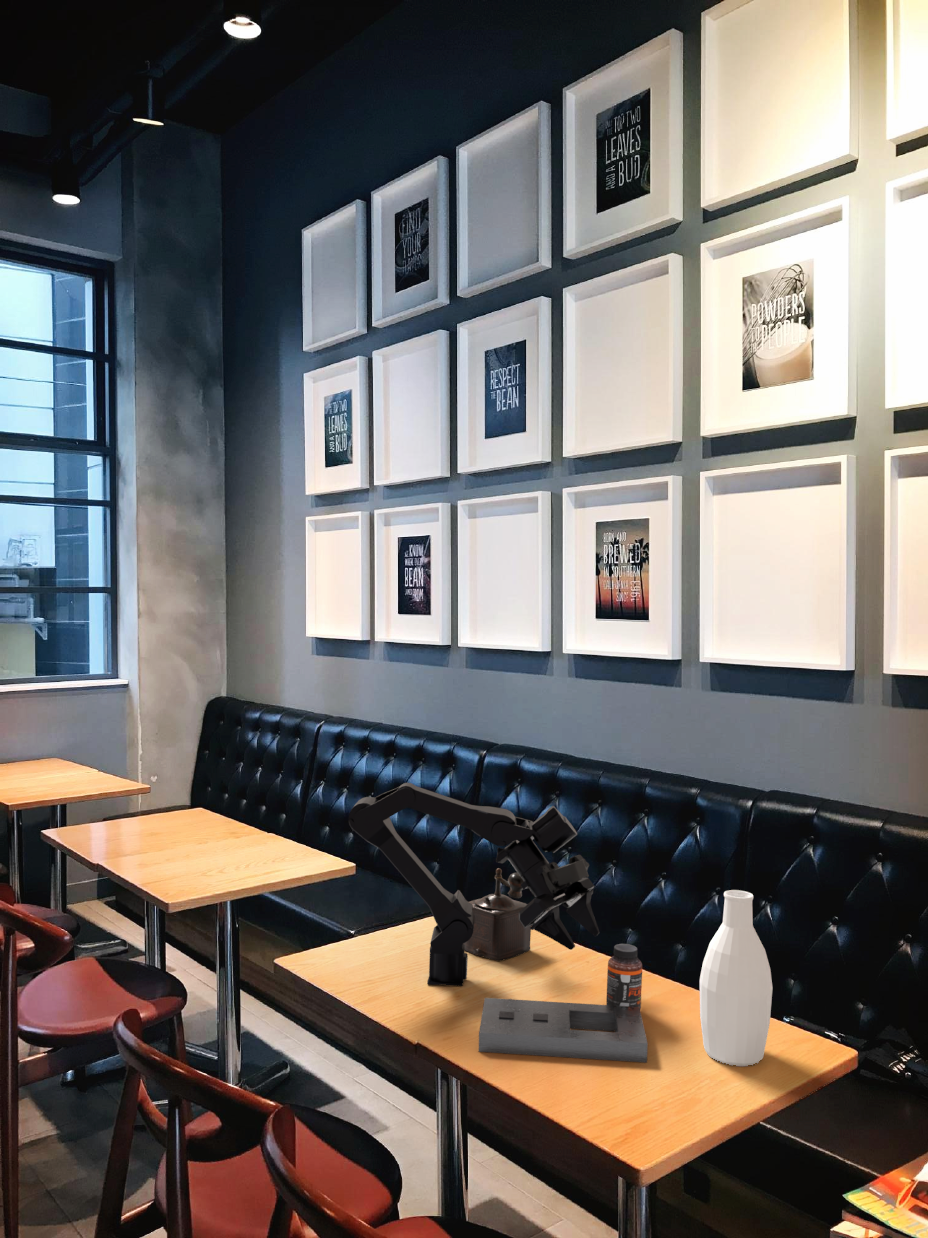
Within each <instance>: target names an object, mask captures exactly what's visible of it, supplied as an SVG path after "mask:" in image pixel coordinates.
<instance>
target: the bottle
mask: <svg viewBox="0 0 928 1238" xmlns="http://www.w3.org/2000/svg"><path fill="white" fill-rule="evenodd" d="M723 897H724V904H723V913H722V923H721V924H720V926H719V927H718V930H717V931H716V932H715V934H714V936H713V937H712V939H711V940H710V942H709V944H708V947H707V950H706V953H705V955H704V958H703V961H702V967H701V971H700V976H699V1017H700V1019H699V1020H700V1024H701V1025H700V1026H701V1033H702V1043H703V1047H704V1051H705V1053H706V1054H707V1055H708V1056H709V1058H711V1059H712V1058H713V1059H712V1060H714V1059H715V1060H714V1061H716V1060H717V1061H716V1062H718V1061H720V1062H719V1063H721V1062H722V1063H721V1064H724V1063H726V1064H725V1065H727V1064H729V1065H728V1066H733V1065H736V1066H735V1067H749V1066H748V1065H752V1066H754V1065H753V1064H755V1063H757V1064H759V1063H760V1062H761V1061H760V1060H763V1058H764V1056H765V1055H764V1054H765V1049H766V1045H767V1041H768V1040H767V1038H768V1033H769V1029H770V1023H771V1012H772V1011H771V1010H772V999H773V998H772V997H773V982H772V972H771V971H772V970H771V967H770V963H769V959H768V955H767V952H766V949H765V947H764V945H763V944H762V943H763V942H762V941H761V940H760V937H759V935H758V933H757V932H756V929H755V928H754V925H753V923H754V922H753V919H754V918H753V917H754V916H753V900H754V895H753V893H751V892H749V891H745V890H741V889H740V890H739V889H731V890H729V889H728V890H725V891H724V892H723ZM759 1061H760V1062H759ZM755 1065H756V1064H755Z"/></svg>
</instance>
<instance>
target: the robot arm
mask: <svg viewBox="0 0 928 1238" xmlns="http://www.w3.org/2000/svg"><path fill="white" fill-rule="evenodd" d="M407 808H408V809H411V810H415V811H417V812H420V813H423V814H425V815H429V816H432V817H435V818H438V819H440V820H444V821H446V822H450V823H453V824H455V825H457V826H462V827H463V828H464V827H465V828H467V830H470V831H471V832H473V833H474V834H476V835H477V836H479V837H480V838H482V839H484V840H486V841H488V842H489V843H491V844H493V845H495V846H498V847H497V849H496V851H497V854H496V858H495V862H496V863H498V864H504V863H506V861H509V862H510V864H511V865H512V867H513V869H514V870H515V871H516V873H518V874H519V875H520V877H521V878H522V880H523V881H524V882H523V883H522V884H521V886H522V888H523V889H522V890H526V889H529V891H530V892H531V894H532V895H533V897H534V898H533V899H532V900H531V901H529V902H528V903H526V904H527V905H526V906H525V907H524V908H523V909H522V910H521V911H520V912H519V921H520V922H521V923H522V925H523V926H524V928H527V927H529V926H531V927H530V929H531V931H533V930H534V931H536V932H538V933H540V934H542V935H543V936H546V937H547V938H550V939H551V940H553V941H555V942H556V943H558V944H560V945H562V947H565V948H566V949H568V950H573V949H574V948H575V947H576V944H575V943H574V941H573V939H572V937H571V935H570V933H569V931H568V930H567V928H566V927H565V925H564V924H563V922H562V920H561V918H560V906H562V907H564V908H566V910H565V913H567V915H569V916H570V917H571V918H572V919H574V920H575V921H576V922H577V923H578V924H579V925H581V926H582V927H583V928H584V929H585V930H587V932H589V933H590V934H591V935H592V936H594V937H597V936H598V935H599V934H600V930H599V926H598V923H597V920H596V918H595V916H594V911H593V909H592V906H591V901H592V900H591V899H592V895H593V894H594V888H595V885H594V884H593V882H592V880H590V875H589V873H588V870H589V867H590V863H589V862H587V860H586V858H584V857H583V856H582V855H581V854H578V855H573V856H572V857H569V859H568V863H567V864H565V865H562V866H559V865H558V864H557V862H555V861H552V862H549V861H548V860H547V858H546V857H545V855H544V854H543V853H542V851H544V853H546V852H548V853H553V854H554V853H556V852H558V850H560V848H563V846H565V845H566V844H567V843H569V842H570V841H571V840H572V839H574V838H575V837H576V836H578V832H577V830H576V829H575V828H574V826H573V825H572V823H571V822H570V821H569V820H568V818H567V816H564V815H563V813H561V812H560V811H559V810H558V809H557V808H556V807H555V805H552V806H550V807H549V808H548V809H547V810H546V811H545V812H544V813H543V814H542V815H541V816H539V817H538V818H537V819H536V820H535V821H533V820H530V819H526V818H522V817H518V816H515V815H514V813H513V812H512V811H511V810H509V809H506V808H502V807H495V806H488V805H487V806H485V805H484V806H482V805H474V804H470V803H467V802H463V801H462V800H459V799H456V798H452V797H450V796H449V797H448V796H446V795H443V794H440V793H437V792H435V791H432V790H428V789H426V788H422V787H419V786H416V785H415V784H414V783H411V782H403V784H400V786H398V787H396V788H394V789H391V790H388V791H386V792H383V793H381V794H379V795H377V796H376V797H371V796H366V797H365V796H364V797H362V798H360V799H359V800H358V801H357V802H356V803H355V804H354V806H353V807H352V808H351V810H350V811H349V813H348V825H349V826H350V828H351V830H353V831H354V832H355V834H357V835H358V836H359V837H361V838H362V840H363V839H364V841H366V842H367V843H369V844H370V845H372V846H374V847H375V848H377V849H379V850H380V851H381V852H382V853H383V855H384V856H385V857H386V859H388V860H389V862H390V863H391V864H392V866H394V868H395V869H396V870H397V871H398V872H399V874H401V876H402V877H403V878H404V879H405V881H406V882H408V884H409V885H410V886H411V887H412V889H413V890H414V891H415V892H416V893H417V894H418V895H419V896H418V897H420V898H421V899H422V900H423V901H424V903H425V904H426V905H427V907H428V908H429V910H430V912H431V914H432V917H433V919H434V922H435V923H436V926H434V927H433V931H432V935H431V940H430V943H429V944H430V947H429V966H428V969H429V970H428V977H427V985H432V986H433V985H435V986H449V987H450V986H451V987H463V985H464V981H465V980H466V979H467V976H468V959H469V958H468V956H469V954H468V953H467V952H466V951H465V944H463V943H465V942H467V941H468V940H469V939H470V938H471V937H472V934H473V930H474V920H475V916H474V912H473V911H472V907H473V905H472V904H470V903H469V902H470V901H468V900H467V899H466V898H465V896H464V895H463V893H462V892H461V890H460V889H457V891H456V892H455V893H454V894H453V893H451V892H450V891H448V890H447V889H446V888H444V887H443V886H442V885H441V883H440V882H439V881H438V880H437V878H436V877H435V876H434V875H433V874H432V872H431V871H430V870H429V869H428V868H427V867H426V866H425V864H424V863H423V862H422V861H421V859H419V857H418V856H417V855H416V853H414V852H413V850H412V849H411V848H410V847H409V845H408V844H407V843H406V842H405V841H404V840H403V839H402V838H401V836H400V835H399V834H398V833H397V831H396V829H395V827H394V825H393V822H392V820H391V817H392V816H394V815H396V814H397V813H399V812H401V811H402V810H405V809H407ZM533 840H534V841H535V842H536V843H537V844H538V845H536V843H535V842H534V841H533ZM538 846H539V847H540V848H541V850H542V851H541V850H540V849H539V847H538ZM502 847H504V848H502Z"/></svg>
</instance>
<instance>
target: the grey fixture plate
mask: <svg viewBox="0 0 928 1238" xmlns="http://www.w3.org/2000/svg"><path fill="white" fill-rule="evenodd" d="M479 1025H480V1026H479V1031H478V1052H480V1053H495V1054H497V1053H498V1054H509V1055H525V1056H539V1057H540V1056H543V1057H556V1058H558V1057H559V1058H569V1059H570V1058H572V1059H573V1058H574V1059H585V1060H586V1059H587V1060H588V1059H590V1060H599V1061H600V1060H603V1061H616V1062H617V1061H619V1062H630V1063H631V1062H632V1063H634V1062H635V1063H648V1040H647V1035H646V1034H647V1033H646V1031H645V1026H644V1021H643V1017H642V1013H641V1009H640V1008H639V1007H630V1006H613V1005H606V1004H596V1003H595V1004H594V1003H578V1002H577V1003H576V1002H561V1001H547V1000H545V1001H543V1000H528V999H511V998H496V997H484V1002H483V1008H482V1012H481V1019H480V1024H479Z"/></svg>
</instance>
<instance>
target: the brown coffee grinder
mask: <svg viewBox="0 0 928 1238" xmlns="http://www.w3.org/2000/svg"><path fill="white" fill-rule="evenodd" d="M502 874H503V870H502V869H501V867H500V868H499V867H498V868H496V869H495V875H494V879H495V891H494V893H490V894H488V895H485V896H483V897H482V898H478V899H473V900H471V901H468V902H469V903H470V904H472V905H473V907H472V911H473V912H474V916H475V920H474V930H473V934H472V937H471V938H470V939H469V940H468V941H467V942H465V943H463V944H465V952H466V953H467V952H468V953H470V954H473V955H475V956H478V957H482V958H486V959H488V960H493V961H497V962H500V961H506V960H510V959H512V958H515V957H518V956H521V955H524V954H525V953H527V952H530V951H531V937H532V936H531V933H532V930H531V929H530V927H531V926H532V925H531V926H529V927H527V928H524V926H523V925H522V923H521V922H520V921H519V912H520V911H521V910H522V909H523V908H524V907H525V906H526V905H527V904H528V903H526V902H522V901H518V900H516V899H521V898H522V896H523V892H522V891H523V890H524V889H523V888H522V886H521V884H522V883H523V882H524V881H523V880H522V878H521V877H520V875H519V874H518V873H517V872H513V873H511V874H510V875H509V876H508V878H507V880H506V879H504V878H503V876H502ZM501 884H502V885H503V886H505V887H507V888H509V891H508V892H507V894H508V896H507V895H505V894H502V893H501ZM512 898H513V899H512ZM514 899H515V900H514Z"/></svg>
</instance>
